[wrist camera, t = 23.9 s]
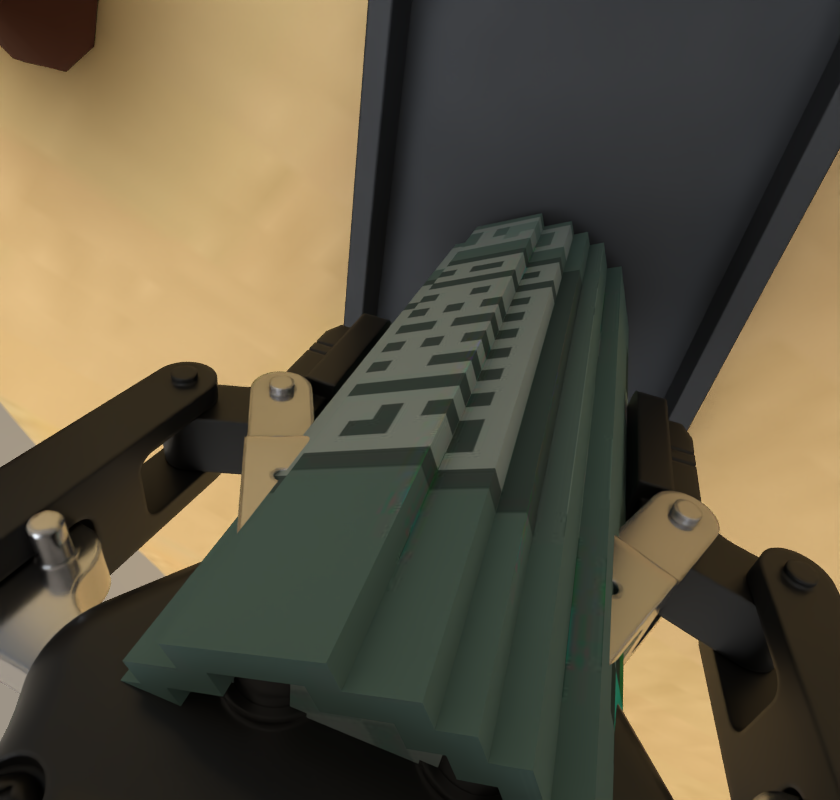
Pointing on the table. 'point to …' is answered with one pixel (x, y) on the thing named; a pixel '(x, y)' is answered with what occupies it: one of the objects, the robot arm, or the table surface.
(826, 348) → the table surface
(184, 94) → the table surface
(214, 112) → the table surface
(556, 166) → the tray
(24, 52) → the ice cream bowl
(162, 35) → the table surface
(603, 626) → the can
